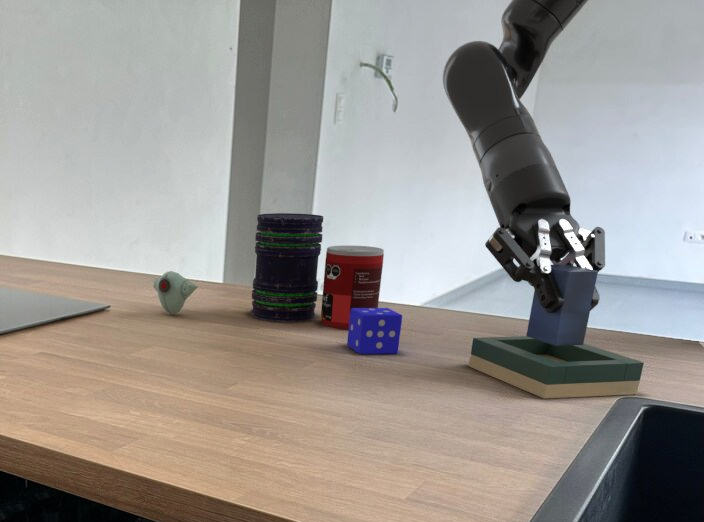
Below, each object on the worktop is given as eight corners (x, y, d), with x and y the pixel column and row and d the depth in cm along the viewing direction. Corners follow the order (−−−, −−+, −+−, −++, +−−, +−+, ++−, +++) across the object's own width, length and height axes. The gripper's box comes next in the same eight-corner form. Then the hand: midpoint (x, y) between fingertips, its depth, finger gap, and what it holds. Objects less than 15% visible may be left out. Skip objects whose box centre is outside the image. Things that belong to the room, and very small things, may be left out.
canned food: (326, 317, 131) (332, 244, 127) (379, 322, 128) (388, 247, 124) (314, 326, 125) (321, 249, 121) (371, 331, 121) (379, 252, 118)
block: (553, 335, 98) (567, 264, 95) (583, 345, 93) (598, 270, 91) (525, 336, 98) (538, 264, 95) (554, 346, 93) (568, 271, 90)
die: (398, 354, 109) (402, 314, 107) (359, 354, 108) (363, 315, 107) (383, 345, 113) (388, 307, 112) (346, 345, 113) (350, 307, 111)
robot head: (199, 316, 131) (201, 272, 129) (182, 320, 129) (184, 274, 126) (159, 310, 137) (160, 267, 134) (142, 313, 134) (143, 269, 132)
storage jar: (284, 307, 139) (291, 212, 134) (329, 317, 131) (338, 216, 126) (237, 313, 134) (242, 214, 129) (280, 324, 126) (288, 219, 121)
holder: (551, 363, 104) (556, 334, 103) (637, 394, 91) (644, 362, 90) (468, 366, 103) (472, 337, 101) (543, 398, 90) (549, 366, 88)
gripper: (484, 161, 95) (534, 289, 88) (598, 161, 97) (656, 286, 90) (451, 207, 102) (495, 329, 94) (558, 206, 104) (609, 326, 97)
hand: (573, 307), depth 92 cm, fingers closed on block, 3 cm apart
